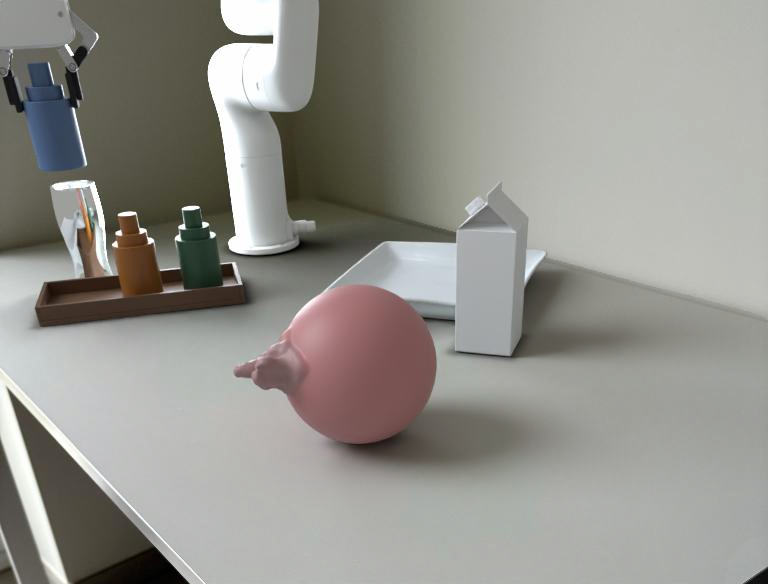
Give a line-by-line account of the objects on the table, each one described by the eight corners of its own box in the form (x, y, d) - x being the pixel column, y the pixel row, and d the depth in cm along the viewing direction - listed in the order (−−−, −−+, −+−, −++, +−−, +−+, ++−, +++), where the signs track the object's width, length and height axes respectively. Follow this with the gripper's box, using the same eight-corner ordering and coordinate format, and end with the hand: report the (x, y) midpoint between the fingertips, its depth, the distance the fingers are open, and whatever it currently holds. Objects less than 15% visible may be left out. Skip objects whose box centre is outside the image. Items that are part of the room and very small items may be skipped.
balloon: (231, 424, 86) (209, 283, 77) (405, 392, 91) (402, 256, 82) (261, 495, 74) (239, 337, 65) (460, 453, 79) (463, 301, 70)
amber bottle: (164, 288, 124) (148, 207, 117) (164, 300, 119) (148, 216, 112) (124, 292, 122) (106, 211, 116) (123, 305, 118) (104, 220, 111)
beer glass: (63, 286, 129) (38, 188, 120) (92, 273, 134) (69, 178, 126) (98, 290, 126) (74, 190, 118) (126, 277, 132) (105, 180, 123)
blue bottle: (88, 160, 108) (64, 59, 101) (85, 169, 103) (61, 62, 96) (41, 164, 107) (15, 62, 100) (37, 173, 102) (8, 66, 95)
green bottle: (222, 281, 125) (210, 201, 119) (225, 293, 120) (213, 210, 114) (183, 285, 124) (169, 205, 117) (185, 298, 119) (170, 214, 113)
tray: (238, 279, 129) (235, 261, 127) (245, 303, 119) (242, 284, 117) (48, 299, 123) (43, 281, 122) (39, 326, 113) (34, 307, 112)
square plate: (384, 261, 134) (383, 237, 131) (547, 272, 125) (549, 247, 123) (319, 316, 113) (317, 289, 110) (511, 334, 104) (513, 305, 102)
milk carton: (521, 336, 104) (531, 181, 93) (510, 358, 98) (519, 195, 88) (468, 332, 106) (471, 179, 95) (454, 352, 100) (456, 193, 90)
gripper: (86, -67, 96) (119, 100, 106) (-69, -62, 93) (-19, 111, 103) (82, -71, 90) (118, 107, 100) (-83, -65, 87) (-29, 118, 97)
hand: (48, 107), depth 101 cm, fingers closed on blue bottle, 6 cm apart
